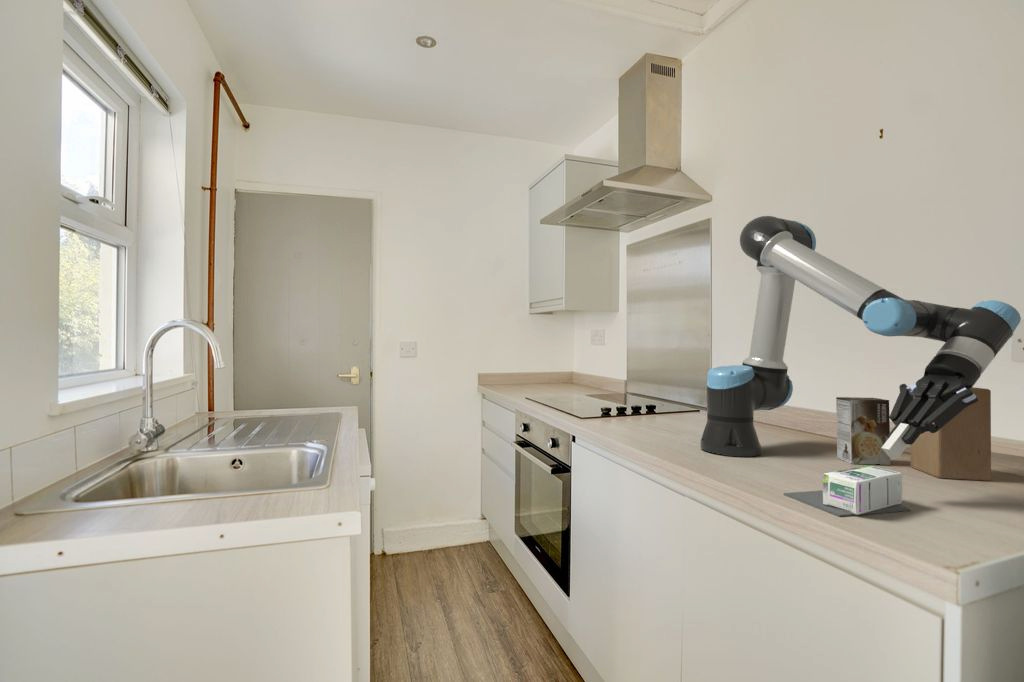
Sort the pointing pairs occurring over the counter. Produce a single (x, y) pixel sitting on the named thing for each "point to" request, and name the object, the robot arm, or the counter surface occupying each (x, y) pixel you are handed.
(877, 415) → the coffee box
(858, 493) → the syrup box
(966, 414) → the wooden block
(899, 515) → the counter surface
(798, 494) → the mat
